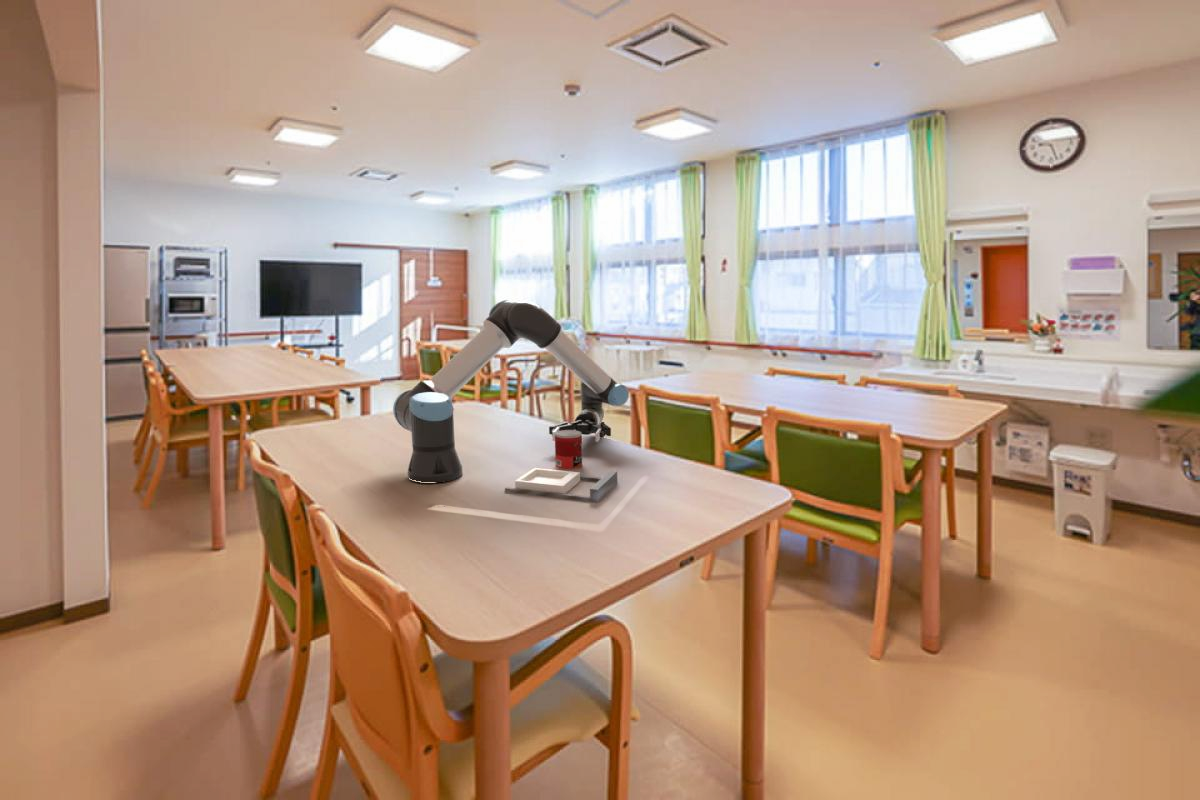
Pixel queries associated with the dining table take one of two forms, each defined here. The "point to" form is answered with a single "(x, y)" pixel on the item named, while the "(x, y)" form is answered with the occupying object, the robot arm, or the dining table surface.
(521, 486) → the carriage
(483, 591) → the dining table surface
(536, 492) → the slide board
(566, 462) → the canned food
